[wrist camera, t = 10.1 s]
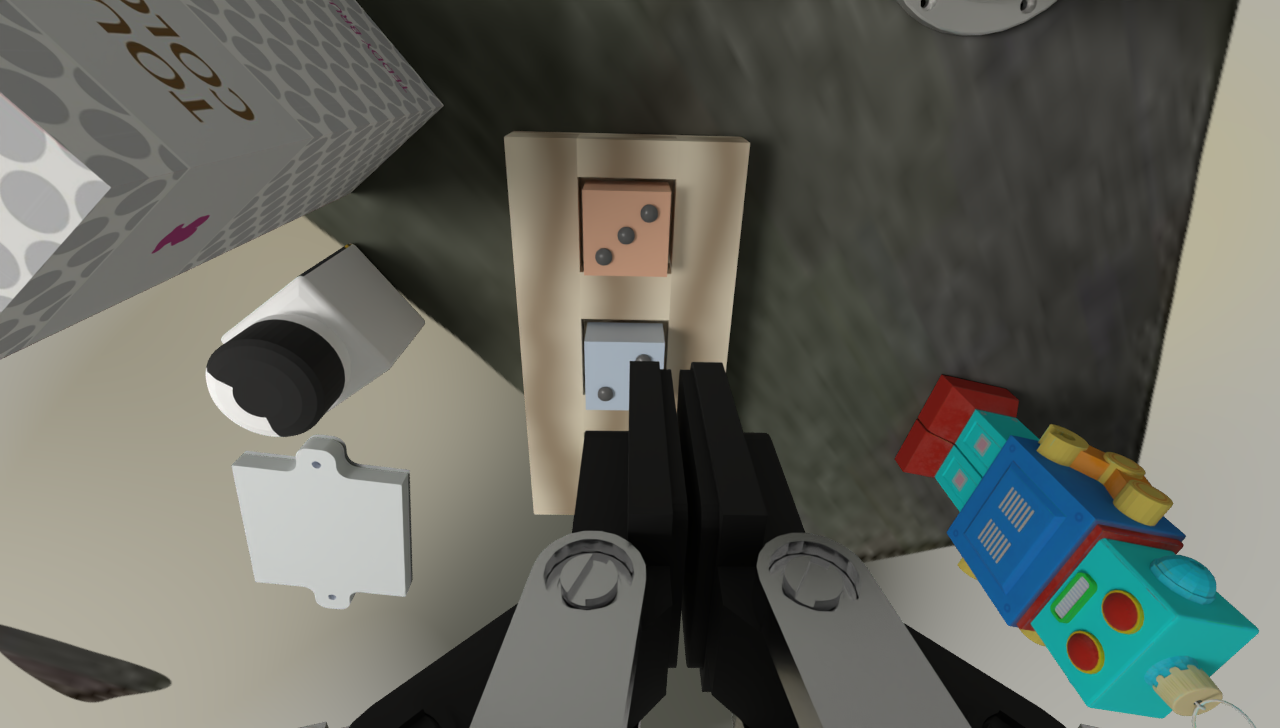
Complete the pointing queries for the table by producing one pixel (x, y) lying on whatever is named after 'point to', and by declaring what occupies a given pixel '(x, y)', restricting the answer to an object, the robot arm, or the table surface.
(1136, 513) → the toy robot
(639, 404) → the robot arm
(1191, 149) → the table surface
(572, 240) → the wooden puzzle board
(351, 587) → the mounting plate
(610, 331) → the button two
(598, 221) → the button three
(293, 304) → the medicine bottle
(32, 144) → the box
